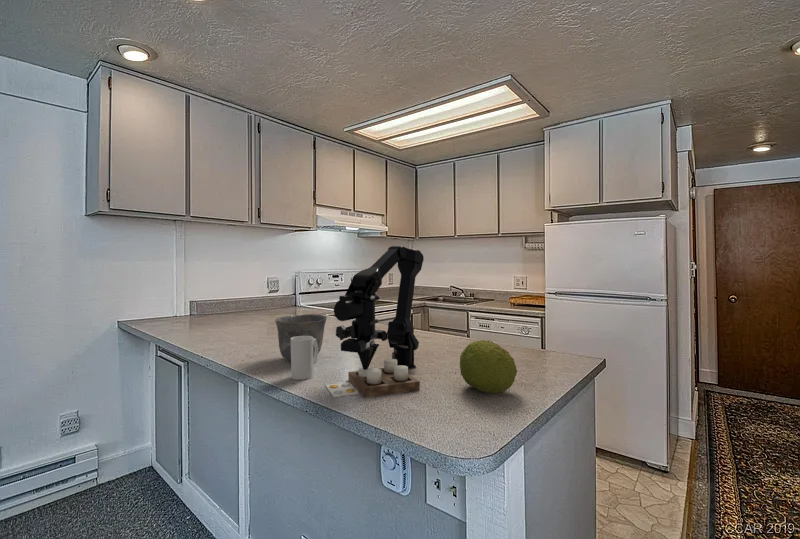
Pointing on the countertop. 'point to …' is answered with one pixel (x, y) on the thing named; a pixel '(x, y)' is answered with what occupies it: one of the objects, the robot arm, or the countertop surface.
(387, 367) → the pale grey egg
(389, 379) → the board
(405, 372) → the button
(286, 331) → the dark grey pot
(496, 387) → the fruit
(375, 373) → the button
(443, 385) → the countertop surface
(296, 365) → the mug
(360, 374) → the white egg
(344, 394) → the card
